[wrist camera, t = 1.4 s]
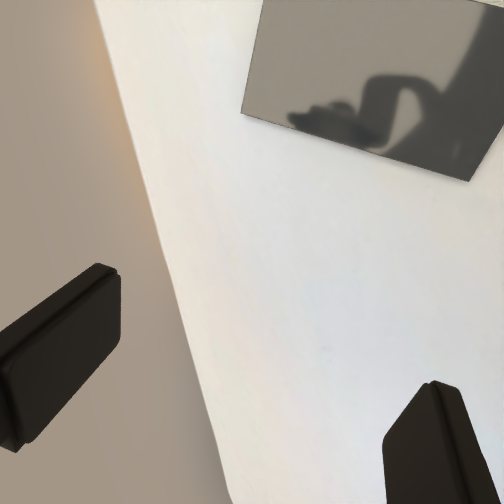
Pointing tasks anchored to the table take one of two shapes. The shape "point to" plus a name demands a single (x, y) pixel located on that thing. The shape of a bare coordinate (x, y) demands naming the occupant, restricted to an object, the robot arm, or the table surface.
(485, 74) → the board
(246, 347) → the table surface
